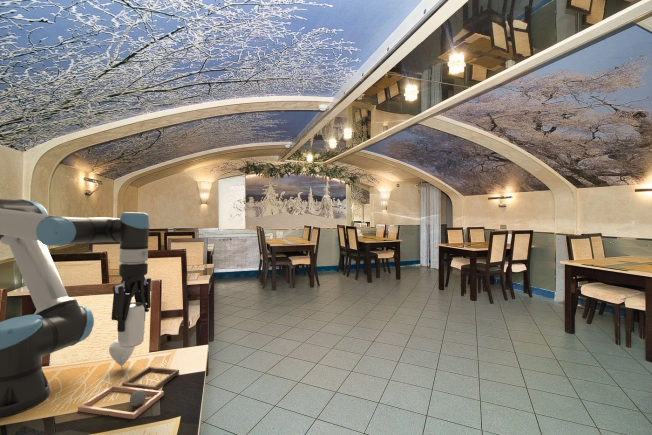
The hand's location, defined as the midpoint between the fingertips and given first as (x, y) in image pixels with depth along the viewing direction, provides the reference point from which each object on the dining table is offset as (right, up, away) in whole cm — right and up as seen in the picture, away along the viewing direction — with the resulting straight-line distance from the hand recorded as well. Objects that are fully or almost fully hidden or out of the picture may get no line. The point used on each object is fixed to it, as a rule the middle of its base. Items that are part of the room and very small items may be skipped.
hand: (131, 337), depth 99 cm
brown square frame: (+3, -16, +6) cm, 18 cm away
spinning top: (-12, -17, +14) cm, 25 cm away
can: (0, -2, 0) cm, 2 cm away
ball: (+6, -16, -8) cm, 19 cm away
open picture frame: (+1, -16, -7) cm, 18 cm away
